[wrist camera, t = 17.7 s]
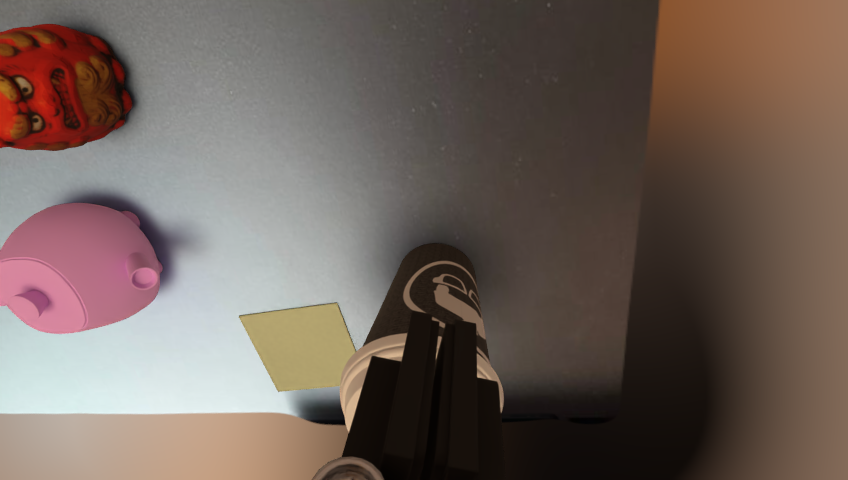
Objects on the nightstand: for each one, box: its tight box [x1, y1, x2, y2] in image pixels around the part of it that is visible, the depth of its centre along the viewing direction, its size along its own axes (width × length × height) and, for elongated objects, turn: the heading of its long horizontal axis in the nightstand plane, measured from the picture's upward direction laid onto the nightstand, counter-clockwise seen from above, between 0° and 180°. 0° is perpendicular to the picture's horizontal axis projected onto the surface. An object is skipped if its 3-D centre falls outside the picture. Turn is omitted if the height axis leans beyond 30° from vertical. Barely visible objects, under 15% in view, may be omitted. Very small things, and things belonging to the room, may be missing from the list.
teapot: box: [0, 203, 163, 334], centre depth 34 cm, size 10×15×9 cm
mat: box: [239, 303, 356, 392], centre depth 42 cm, size 10×10×1 cm
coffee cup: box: [340, 243, 504, 432], centre depth 30 cm, size 10×10×15 cm
